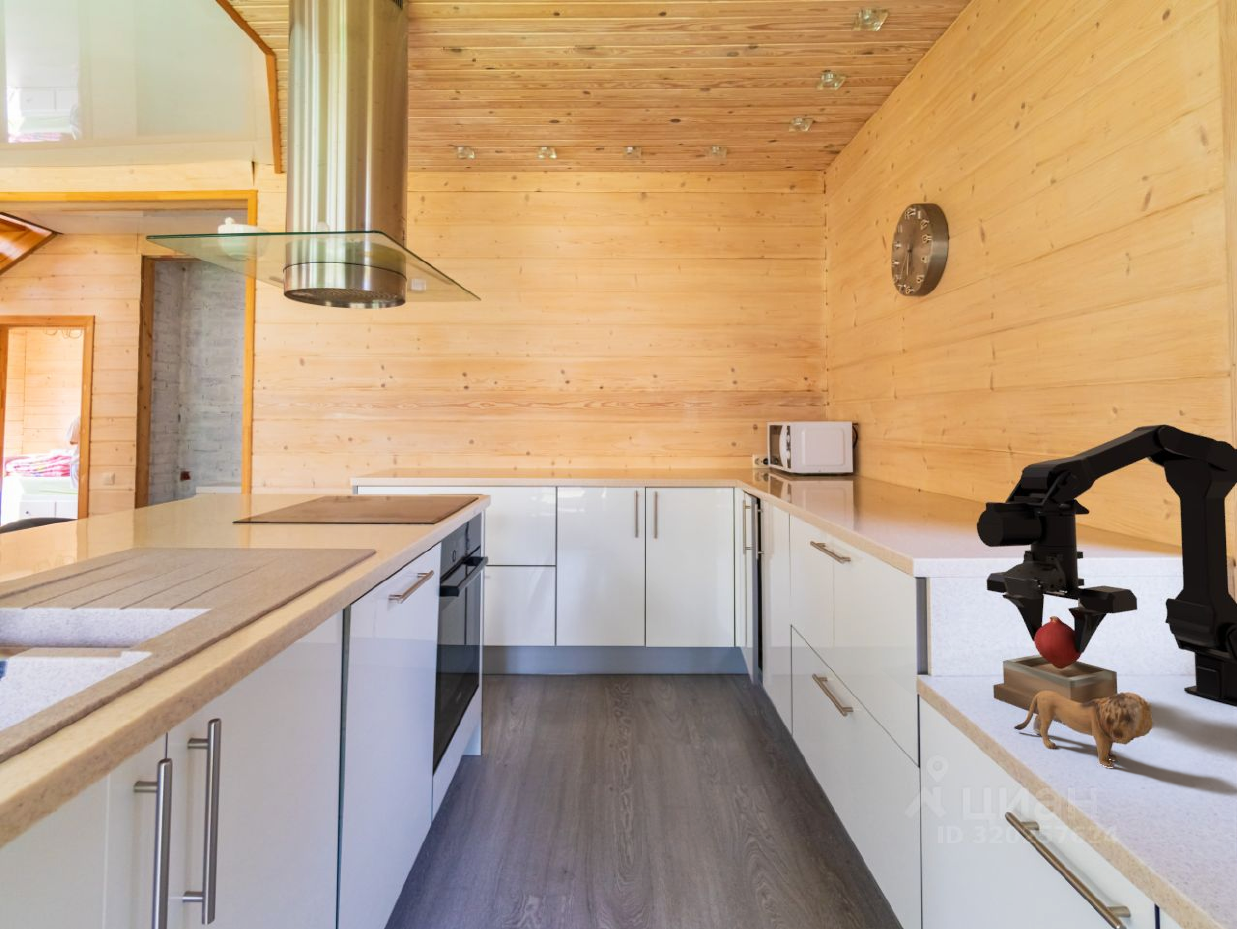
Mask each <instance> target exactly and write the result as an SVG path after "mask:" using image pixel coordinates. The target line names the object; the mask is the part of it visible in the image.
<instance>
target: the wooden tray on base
mask: <svg viewBox="0 0 1237 929" xmlns="http://www.w3.org/2000/svg"><path fill="white" fill-rule="evenodd" d="M1002 667H1003V668H1002V671H1003V673H1002V674H1003V683H998V684H996V683H995V684H993V686H992V687H993V689H992V690H993V698H994V699H996V700H999V701H1002V702H1004V703H1007V704H1010V705H1013V706H1015V707H1017V708H1019V709H1022V710H1025V711H1028V712H1029V710H1030V707H1031V704H1032V701H1033V699H1034V697H1035V696H1036V694H1038V693H1039V692H1042V691H1051V692H1056V693H1058V694H1061V695H1062V696H1064V697H1065V698H1067V699H1069V700H1072V701H1075V702H1078V703H1088V702H1090V701H1092V700H1094V699H1102V698H1108V697H1110V696H1114V695H1115V694H1118V678H1117V677H1118V675H1117V674H1118V672H1117V671H1115V670H1112V669H1107V668H1105V667H1104V668H1103V667H1101V666H1097V665H1093V664H1089V663H1085V662H1081V661H1078V660H1077V661H1076V662H1074V663H1073V664H1071V665H1069V666H1067V667H1065V668H1063V669H1058V668H1056V667H1054V666H1053V665H1052V664H1051V663H1050V662H1049V661H1047V660H1046V659H1044V658H1043V657H1042V656H1041V655H1040V654H1039V653H1038V654H1034V655H1029V656H1021V657H1017V658H1011V659H1004V660H1003V661H1002ZM1034 714H1036V715H1039V711H1038V705H1037V707H1036V709H1035V712H1034ZM1054 720H1056V721H1055V722H1057V721H1060V722H1062V721H1061V720H1060V719H1059V718H1058V717H1057V718H1056V719H1054ZM1054 720H1053V721H1054ZM1060 722H1059V723H1060Z"/></svg>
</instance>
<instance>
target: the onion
mask: <svg viewBox="0 0 1237 929" xmlns="http://www.w3.org/2000/svg"><path fill="white" fill-rule="evenodd" d="M1033 642H1034V645H1035V649H1036V650H1037V652H1038V654H1040V655H1041V656H1042V657H1043V658H1044V659H1046V660H1047V661H1049V662H1050V663H1051V664H1052V665H1053V666H1054V667H1056V668H1058V669H1063V668H1065V667H1067V666H1069V665H1071V664H1073V663H1074V662H1076V661H1078V660H1079V659H1080V657H1082V654H1083V653H1077V652H1076V648H1075V634H1074V629H1073V627H1072V626H1070V625H1069V624H1067V623H1065V622H1064V621H1063V620H1061V619H1060V618H1059V617H1058V616H1056V615H1052V616H1050V617H1049V622H1045V624H1042V627H1041V628H1040V629H1039V630H1038V631H1037V632H1036V634H1035V638H1034V641H1033Z"/></svg>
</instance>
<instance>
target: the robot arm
mask: <svg viewBox="0 0 1237 929" xmlns="http://www.w3.org/2000/svg"><path fill="white" fill-rule="evenodd" d="M1146 458H1147V459H1148V461H1149V462H1151V463H1152V464H1155V465H1156V466H1159V467H1162V468H1163V470H1164V471H1163V472H1164V475H1165V480H1166V483H1168V485H1169V486H1170V488H1171V489H1172V490H1173V491H1174V492H1175V494H1176V496H1178V498H1179V504H1180V505H1179V507H1180V508H1179V511H1180V531H1181V532H1180V533H1181V534H1180V535H1181V536H1180V538H1181V556H1182V557H1181V559H1182V561H1181V562H1182V565H1181V566H1182V582H1183V583H1182V589H1181V591H1179V593H1178V594H1177V596H1176V597H1175V598H1167V599H1166V601H1165V607H1166V619H1165V624H1168V626H1169V627H1168V628H1169V630H1170V632H1171V635H1173V637H1174V639H1175V642H1176V644H1177V646H1178V649H1180V650H1182V651H1187V652H1191V653H1193V654H1194V671H1195V672H1194V674H1195V678H1194V679H1195V685H1191V686H1187V687H1184V688H1183V689H1184V690H1183V691H1184V692H1186V693H1189V694H1192V695H1196V696H1200V697H1202V698H1203V697H1204V698H1206V699H1211V700H1215V701H1218V702H1223V703H1226V704H1229V705H1232V706H1237V601H1236V600H1235V599H1234V598H1233V596H1232V595H1231V594H1230V592H1229V577H1228V574H1229V573H1228V549H1227V526H1226V505H1225V503H1226V498H1227V496H1228V495H1229V494H1230V492H1231V491H1232V490H1233V488H1235V486H1236V485H1237V448H1235V447H1234V446H1233V445H1232V444H1231V443H1230V442H1227V441H1225V440H1224V441H1223V440H1217V439H1215V438H1212V437H1208V436H1203V435H1201V434H1197V433H1192V432H1188V431H1185V430H1181V429H1180V428H1177V427H1175V426H1172V425H1169V424H1155V425H1143V426H1138V427H1136V428H1134V429H1133V430H1131V431H1130V432H1128V433H1125V434H1123V435H1120V436H1119V437H1116V438H1114V439H1111V440H1109V441H1107V442H1104V443H1102V444H1099V445H1097V446H1094V447H1092V448H1089V449H1087V450H1085V451H1082V452H1080V453H1078V454H1075V455H1073V456H1068V457H1061V458H1055V459H1049V460H1044V461H1038V462H1035V463H1031V464H1028V465H1026V466H1024V468H1023V469H1021V470H1022V471H1021V475H1020V479H1019V480H1018V481H1017V483H1016V485H1015V487H1014V488H1013V489H1012V491H1011V492H1010V493H1009V495H1008V497H1007V498H1006V500H1005V502H995V501H987V502H985V510H984V511H983V512H981V514H979V517H978V521H977V522H976V532H977V535H978V537H979V539H980V541H981V542H982V543H983V544H984V545H985V546H987V547H988V548H999V547H1000V548H1002V547H1005V548H1006V547H1023V546H1024V547H1026V546H1030V550H1029V549H1028V550H1024V553H1023V561H1022V563H1019V564H1016V565H1014V566H1012V567H1011V568H1009V569H1008V570H1006V571H1000V572H999V571H998V572H992V573H990V574H988V575H989V576H987V579H986V590H987V591H989V592H993V593H994V592H995V593H1000V594H1002V595H1001V596H1002V598H1003V599H1005V600H1008V601H1009V602H1011V603H1012V604H1013V605H1014V606H1015V607H1016V608H1017V610H1018V612H1019V614H1020V615H1021V618H1022V620H1023V622H1024V624H1025V626H1026V628H1027V631H1028V633H1029V634H1028V635H1029V636H1030V638H1031V640H1032V642H1034V638H1035V634H1036V632H1037V631H1038V630H1039V629H1040V628H1041V627H1042V626H1043V616H1044V615H1043V614H1044V602H1045V596H1052V597H1056V598H1057V597H1058V598H1063V599H1068V600H1074V601H1077V605H1078V606H1075V607H1068V609H1067V610H1068V611H1069V613H1070V614H1071V616H1072V617H1073V621H1074V622H1073V623H1074V624H1073V626H1074V629H1073V630H1074V634H1075V648H1076V652H1077V653H1082V654H1083V653H1084V652H1085V651H1086V649H1087V648H1088V645H1089V644H1090V641H1091V640H1092V638H1093V636H1094V634H1095V632H1096V631H1097V629H1098V627H1099V626H1100V624H1101V623H1102V621H1104V619H1105V618H1106V616H1107V615H1108V614H1119V613H1126V612H1131V611H1136V610H1137V611H1138V598H1137V597H1136V596H1135V594H1134V593H1133V591H1132V590H1131V589H1130V588H1129V589H1128V588H1122V587H1116V586H1109V585H1098V586H1091V587H1090V586H1089V587H1084V586H1085V578H1081V577H1079V566H1078V560H1081V559H1084V551H1080V550H1078V543H1077V521H1076V518H1077V517H1076V516H1077V515H1089V514H1090V510H1089V509H1088V508H1087V507H1086V506H1083V505H1082V504H1081V503H1080V502H1079V501H1078V500H1077V498H1078V497H1080V496H1081V495H1083V494H1085V493H1086V492H1087V491H1089V490H1091V489H1092V487H1093V486H1094V484H1095V482H1096V481H1097V480H1099V479H1100V478H1102V477H1105V476H1107V475H1109V474H1111V473H1114V472H1115V471H1118V470H1121V469H1124V468H1125V467H1128V466H1130V465H1132V464H1135V463H1137V462H1140V461H1141V460H1144V459H1146ZM1082 586H1083V587H1082Z"/></svg>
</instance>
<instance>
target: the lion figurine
mask: <svg viewBox="0 0 1237 929" xmlns="http://www.w3.org/2000/svg"><path fill="white" fill-rule="evenodd" d="M1037 705H1038V711H1039V715H1038V714H1036V715H1035V718H1034V721H1033V726H1032V727H1033V730H1034V732H1035V734H1036V735H1040V736H1041V738H1042V741H1043V742H1042V743H1043V745H1044V746H1045V747H1046V748H1048V749H1052V748H1053V749H1056V748H1057V745H1056V743H1055V742H1053V741H1051V740H1050V738H1049V729H1050V728H1051V725H1052V723H1053V721H1054V719H1056V718H1057V717H1058V718H1059V719H1060V720H1061V721H1062V722H1063V723H1064V724H1063V725H1065V726H1066V727H1067V728H1069V729H1071V730H1072V731H1075V732H1077V733H1080V734H1083V735H1088V736H1092V737H1093V739H1094V742H1095V744H1096V749H1097V755H1098V756H1097V758H1098V761H1099V764H1100V765H1101V764H1102V765H1104V766H1107V767H1113V766H1114V767H1115V765H1114V764H1113V763H1112V762H1111V760H1117V759H1118V760H1119V757H1118V756H1117V755H1116V754H1113V753H1112V752H1111V751H1112V748H1113V744H1114V743H1115V744H1121V745H1128V744H1129V743H1131V741H1133V740H1134V739H1136V738H1137V739H1138V738H1140V737H1145V736H1146V735H1148V734H1149V733H1150V731H1151V730H1152V729H1153V726H1154V721H1153V716H1152V715H1153V714H1152V711H1151V703H1150V702H1148V701H1146V700H1145V698H1143V697H1141V695H1138V694H1137V693H1133V692H1129V691H1127V692H1124V691H1123V692H1119V693H1117V694H1115V695H1114V696H1110V697H1108V698H1102V699H1094V700H1092V701H1090V702H1088V703H1078V702H1075V701H1072V700H1069V699H1067V698H1065V697H1064V696H1062V695H1061V694H1058V693H1056V692H1051V691H1042V692H1039V693H1038V694H1036V696H1035V697H1034V699H1033V701H1032V704H1031V707H1030V710H1029V711H1028V714H1027V716H1026V719H1025V720H1024V721H1023V723H1019V724H1017V725H1015V726H1014V727H1013V729H1014V730H1018V731H1021V730H1024V729H1025V728H1026V727H1028V725H1029V724H1030V723H1031V721H1032V719H1033V716H1034V714H1035V713H1034V712H1035V709H1036V707H1037ZM1109 759H1111V760H1109ZM1118 760H1117V761H1118ZM1102 765H1101V766H1102ZM1114 767H1113V768H1114Z"/></svg>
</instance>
